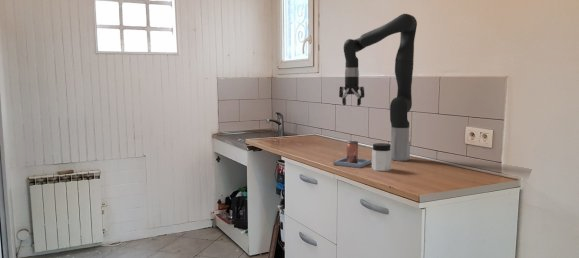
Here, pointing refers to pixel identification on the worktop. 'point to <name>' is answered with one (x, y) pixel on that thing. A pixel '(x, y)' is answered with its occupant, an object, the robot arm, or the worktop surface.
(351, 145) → the canister
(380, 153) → the jar
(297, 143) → the worktop surface
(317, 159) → the worktop surface
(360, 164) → the tray
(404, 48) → the robot arm
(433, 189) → the worktop surface
